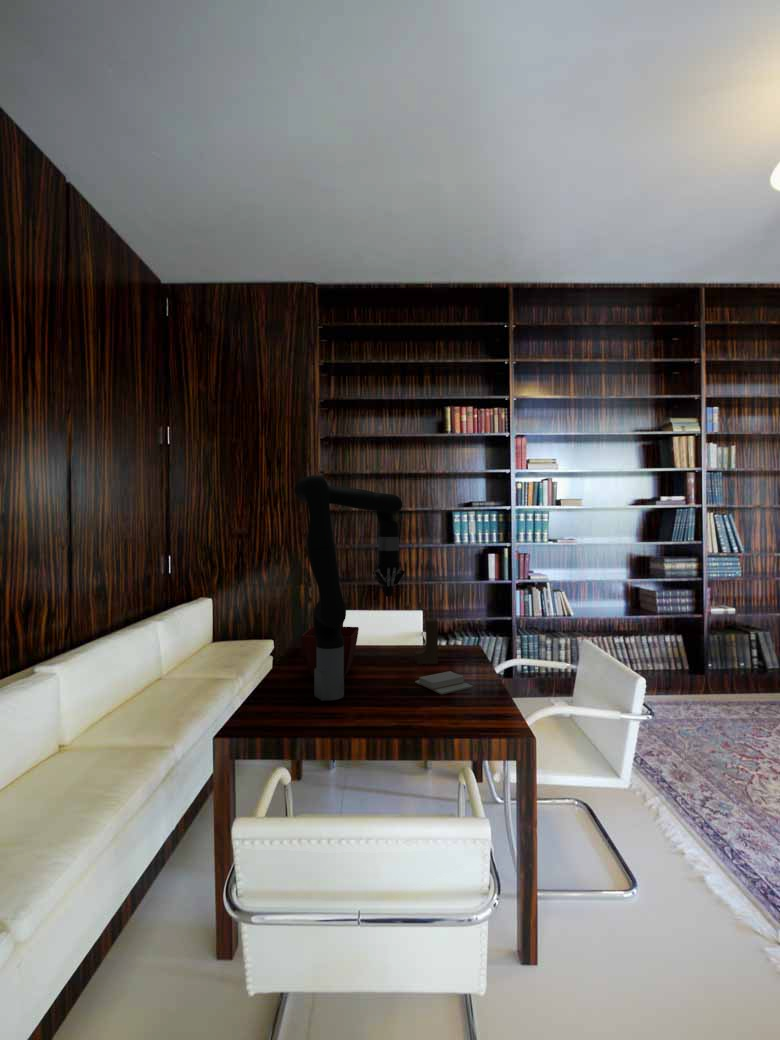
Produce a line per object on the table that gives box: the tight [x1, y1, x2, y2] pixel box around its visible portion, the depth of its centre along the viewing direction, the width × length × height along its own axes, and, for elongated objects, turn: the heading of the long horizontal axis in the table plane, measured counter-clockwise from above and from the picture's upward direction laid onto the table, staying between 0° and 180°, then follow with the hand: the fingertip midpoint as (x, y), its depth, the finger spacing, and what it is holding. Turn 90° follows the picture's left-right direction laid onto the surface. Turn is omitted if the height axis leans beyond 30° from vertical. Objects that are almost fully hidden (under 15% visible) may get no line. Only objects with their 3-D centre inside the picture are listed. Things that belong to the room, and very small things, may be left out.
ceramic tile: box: [418, 670, 465, 691], centre depth 193 cm, size 2×8×14 cm
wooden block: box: [414, 618, 439, 666], centre depth 223 cm, size 9×4×18 cm, turn 92°
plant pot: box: [301, 625, 360, 679], centre depth 208 cm, size 19×19×17 cm
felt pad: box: [414, 679, 474, 696], centre depth 193 cm, size 14×16×1 cm
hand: (388, 596), depth 196 cm, fingers closed
